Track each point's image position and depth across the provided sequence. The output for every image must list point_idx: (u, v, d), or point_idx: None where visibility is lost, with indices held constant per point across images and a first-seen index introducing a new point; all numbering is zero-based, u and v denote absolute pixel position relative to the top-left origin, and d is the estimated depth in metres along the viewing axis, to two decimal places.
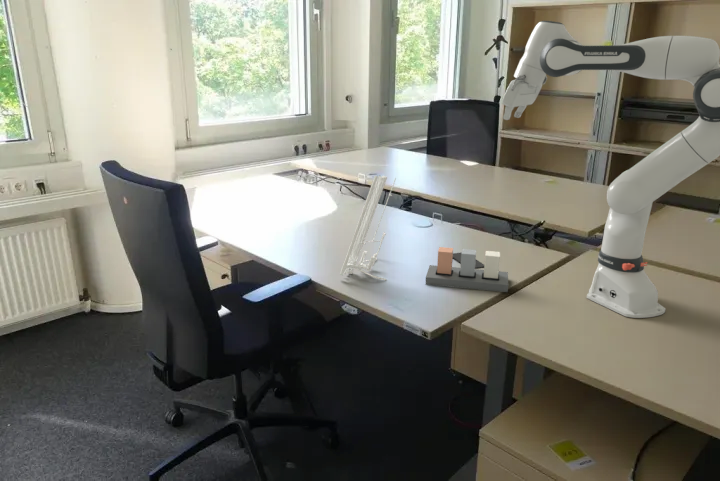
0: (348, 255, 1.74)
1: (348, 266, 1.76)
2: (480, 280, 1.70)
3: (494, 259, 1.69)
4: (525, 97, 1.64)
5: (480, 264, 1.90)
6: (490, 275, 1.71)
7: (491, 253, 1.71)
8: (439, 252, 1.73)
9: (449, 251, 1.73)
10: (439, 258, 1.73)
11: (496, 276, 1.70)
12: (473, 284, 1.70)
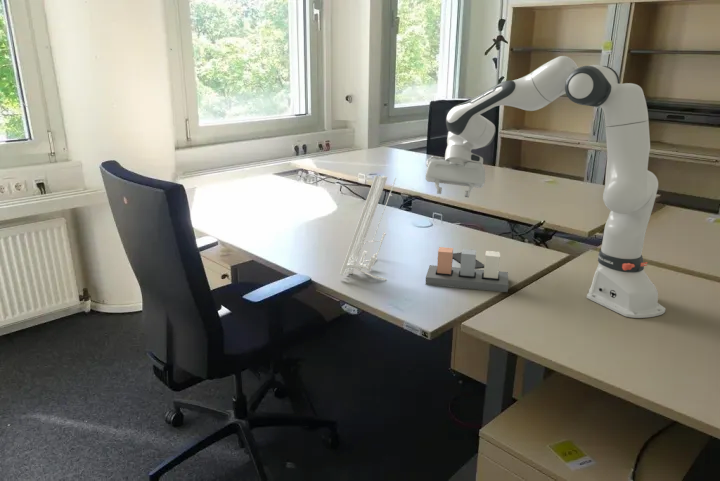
0: (348, 255, 1.74)
1: (348, 266, 1.76)
2: (480, 280, 1.70)
3: (494, 259, 1.69)
4: (453, 173, 1.82)
5: (480, 264, 1.90)
6: (490, 275, 1.71)
7: (491, 253, 1.71)
8: (439, 252, 1.73)
9: (449, 251, 1.73)
10: (439, 258, 1.73)
11: (496, 276, 1.70)
12: (473, 284, 1.70)
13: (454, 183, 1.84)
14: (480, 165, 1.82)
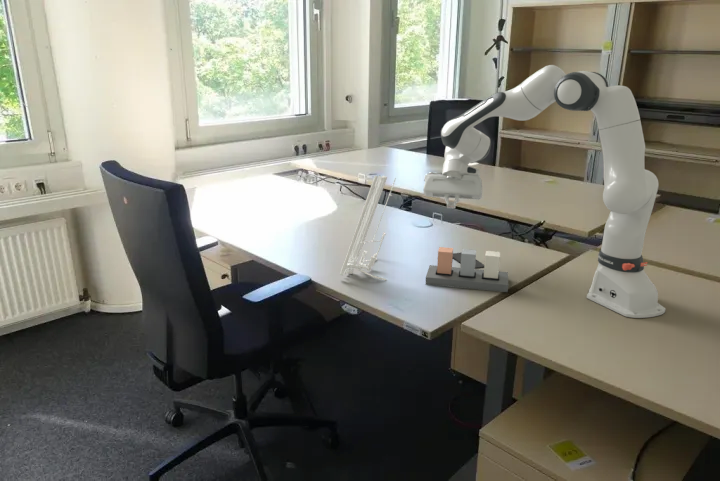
0: (348, 255, 1.74)
1: (348, 266, 1.76)
2: (480, 280, 1.70)
3: (494, 259, 1.69)
4: (450, 186, 1.84)
5: (480, 264, 1.90)
6: (490, 275, 1.71)
7: (491, 253, 1.71)
8: (439, 252, 1.73)
9: (449, 251, 1.73)
10: (439, 258, 1.73)
11: (496, 276, 1.70)
12: (473, 284, 1.70)
13: (452, 196, 1.85)
14: (477, 177, 1.83)
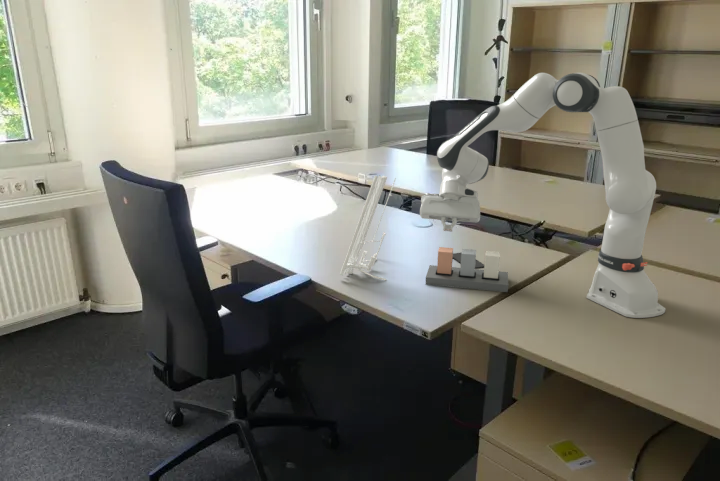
0: (348, 255, 1.74)
1: (348, 266, 1.76)
2: (480, 280, 1.70)
3: (494, 259, 1.69)
4: (447, 208, 1.79)
5: (480, 264, 1.90)
6: (490, 275, 1.71)
7: (491, 253, 1.71)
8: (439, 252, 1.73)
9: (449, 251, 1.73)
10: (439, 258, 1.73)
11: (496, 276, 1.70)
12: (473, 284, 1.70)
13: (449, 219, 1.80)
14: (475, 199, 1.78)
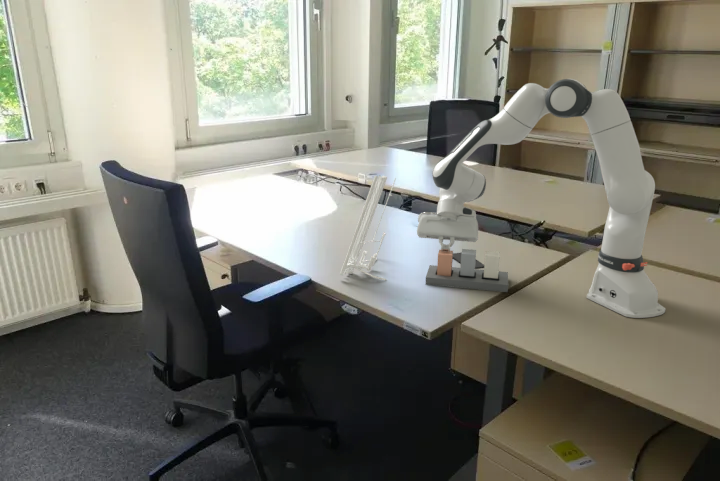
0: (348, 255, 1.74)
1: (348, 266, 1.76)
2: (480, 280, 1.70)
3: (494, 259, 1.69)
4: (445, 227, 1.76)
5: (480, 264, 1.90)
6: (490, 275, 1.71)
7: (491, 253, 1.71)
8: (439, 255, 1.73)
9: (449, 254, 1.73)
10: (439, 261, 1.73)
11: (496, 276, 1.70)
12: (473, 284, 1.70)
13: (447, 238, 1.77)
14: (473, 218, 1.75)
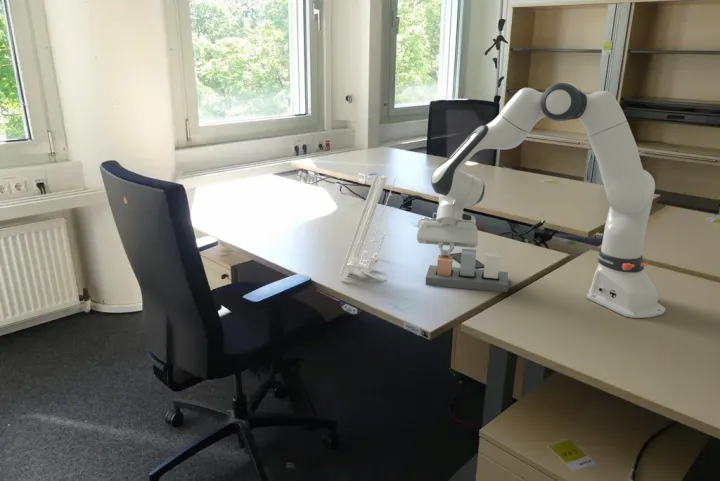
0: (348, 255, 1.74)
1: (348, 266, 1.76)
2: (480, 280, 1.70)
3: (494, 259, 1.69)
4: (444, 233, 1.77)
5: (480, 264, 1.90)
6: (490, 275, 1.71)
7: (491, 253, 1.71)
8: (439, 260, 1.73)
9: (449, 259, 1.74)
10: (439, 266, 1.74)
11: (496, 276, 1.70)
12: (473, 284, 1.70)
13: (446, 244, 1.78)
14: (472, 224, 1.76)
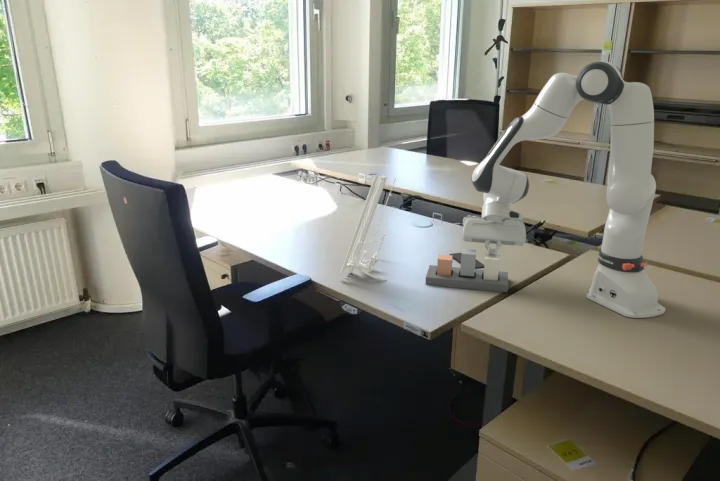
0: (348, 255, 1.74)
1: (348, 266, 1.76)
2: (480, 280, 1.70)
3: (494, 262, 1.69)
4: (491, 231, 1.73)
5: (480, 264, 1.90)
6: (490, 278, 1.71)
7: (491, 256, 1.71)
8: (439, 260, 1.73)
9: (449, 259, 1.73)
10: (439, 266, 1.74)
11: (496, 279, 1.71)
12: (473, 284, 1.70)
13: (493, 242, 1.74)
14: (520, 222, 1.72)
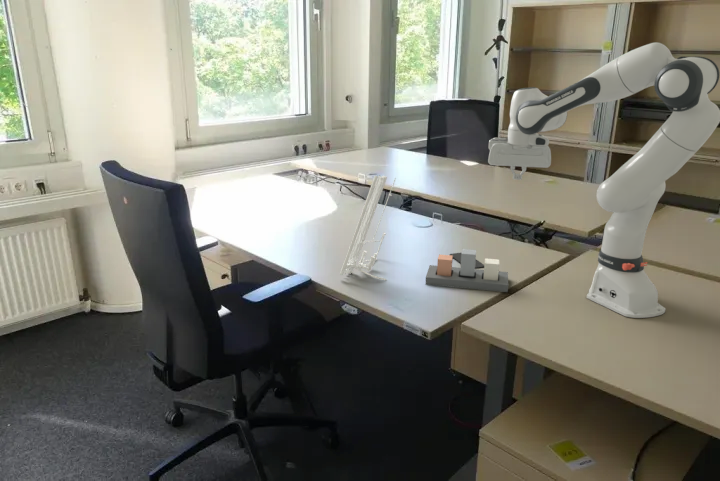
0: (348, 255, 1.75)
1: (348, 266, 1.76)
2: (480, 280, 1.70)
3: (493, 267, 1.70)
4: (517, 158, 1.76)
5: (480, 264, 1.90)
6: None
7: (490, 260, 1.72)
8: (439, 260, 1.73)
9: (449, 259, 1.73)
10: (439, 266, 1.74)
11: None
12: (473, 284, 1.70)
13: None
14: (546, 148, 1.73)
